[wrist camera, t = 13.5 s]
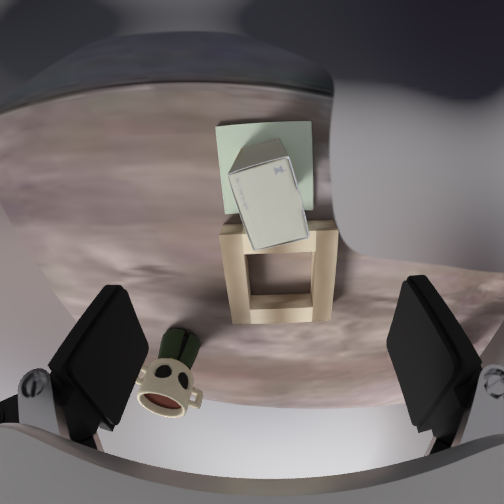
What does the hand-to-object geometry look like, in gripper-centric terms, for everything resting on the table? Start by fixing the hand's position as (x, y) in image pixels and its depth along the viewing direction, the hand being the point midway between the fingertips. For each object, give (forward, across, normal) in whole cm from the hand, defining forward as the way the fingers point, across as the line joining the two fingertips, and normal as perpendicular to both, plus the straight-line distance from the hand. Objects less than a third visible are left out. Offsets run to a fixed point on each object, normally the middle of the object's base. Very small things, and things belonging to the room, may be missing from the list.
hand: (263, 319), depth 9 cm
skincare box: (+23, 0, 0) cm, 23 cm away
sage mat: (+24, 0, 0) cm, 24 cm away
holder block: (+24, -1, +13) cm, 27 cm away
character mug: (+24, +15, +26) cm, 38 cm away
